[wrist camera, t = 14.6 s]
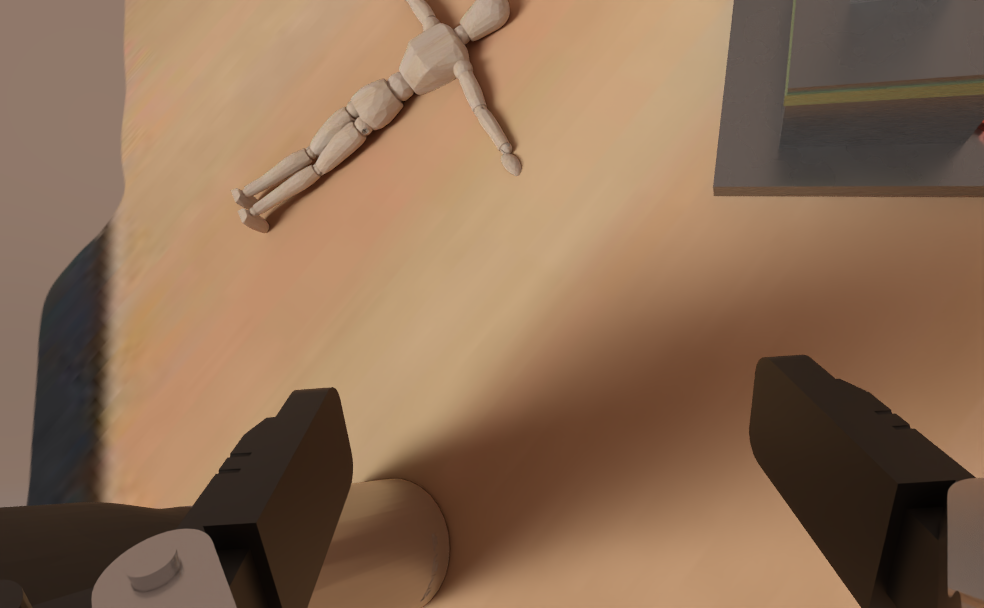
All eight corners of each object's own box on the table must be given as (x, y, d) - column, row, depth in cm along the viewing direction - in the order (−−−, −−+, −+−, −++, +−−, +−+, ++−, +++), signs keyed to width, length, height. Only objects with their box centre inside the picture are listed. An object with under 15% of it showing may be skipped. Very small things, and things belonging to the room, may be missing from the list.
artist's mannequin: (311, 336, 48) (600, 131, 42) (276, 328, 44) (589, 101, 38) (225, 121, 58) (449, -70, 52) (191, 99, 54) (429, -110, 48)
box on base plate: (714, 195, 36) (708, 136, 29) (740, -44, 39) (742, -152, 31) (1036, 197, 29) (1135, 120, 22) (1040, -94, 32) (1129, -246, 25)
